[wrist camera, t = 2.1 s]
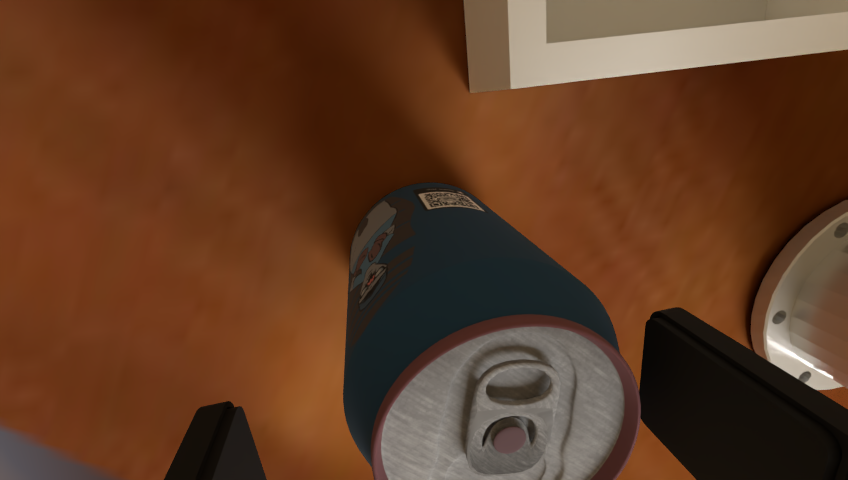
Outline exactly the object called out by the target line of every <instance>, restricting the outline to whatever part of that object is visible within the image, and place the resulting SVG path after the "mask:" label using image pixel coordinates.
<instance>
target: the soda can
mask: <svg viewBox="0 0 848 480" xmlns="http://www.w3.org/2000/svg"><path fill="white" fill-rule="evenodd" d="M343 403H344V412H345V416H346V421H347V424H348V427H349V430H350V433H351V435H352V437H353V439H354V441H355V443H356V445H357V447H358V448H359V450H360V451H361V453H362V454H363V456H364V457H365V459H366V460H367V461H368V463H369V464H370V465H371V467H372V471H373V476H374V479H375V480H616V478H617V477H618V476H619V474H620V473H621V472H622V470H623V468H624V467H625V465H626V463H627V461H628V459H629V457H630V455H631V453H632V450H633V448H634V445H635V442H636V438H637V434H638V430H639V425H640V416H641V404H640V395H639V390H638V386H637V383H636V380H635V378H634V375H633V373H632V371H631V369H630V367H629V366H628V364H627V363H626V361H625V360H624V358H623V357H622V356H621V354H620V352H619V347H618V342H617V338H616V334H615V331H614V328H613V325H612V322H611V320H610V318H609V316H608V314H607V312H606V310H605V308H604V307H603V305H602V304H601V302H600V301H599V299H598V298H597V297H596V296H595V295H594V293H593V292H592V291H591V290H590V289H589V288H588V287H587V286H586V285H584V284H583V283H582V282H581V281H579V280H578V279H577V278H576V277H574V276H573V275H572V274H571V273H569V272H568V271H567V270H566V269H564V268H563V267H562V266H561V265H559V264H558V263H557V262H556V261H554V260H553V259H552V258H551V257H549V256H548V255H547V254H546V253H544V252H543V251H542V250H541V249H539V248H538V247H537V246H536V245H534V244H533V243H532V242H531V241H529V240H528V239H527V238H526V237H524V236H523V235H522V234H521V233H520V232H518V231H517V230H516V229H515V228H513V227H512V226H511V225H510V224H508V223H507V222H506V221H505V220H503V219H502V218H501V217H500V216H498V215H497V214H496V213H495V212H493V211H492V210H491V209H490V208H488V207H487V206H486V205H485V204H483V203H482V202H481V201H480V200H478V199H477V198H476V197H475V196H473V195H472V194H470V193H468V192H467V191H465V190H462V189H460V188H458V187H455V186H452V185H448V184H442V183H419V184H413V185H409V186H406V187H403V188H400V189H398V190H396V191H393V192H392V193H390V194H388V195H386V196H385V197H383V198H382V199H381V200H379V201H378V202H377V203H376V204H375V205H374V206H373V207H372V208H371V209H370V210H369V211H368V212H367V213H366V215H365V216H364V217H363V219H362V220H361V222H360V224H359V226H358V227H357V230H356V232H355V234H354V237H353V241H352V245H351V250H350V266H349V286H348V307H347V327H346V348H345V368H344V389H343Z"/></svg>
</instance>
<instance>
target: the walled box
mask: <svg viewBox="0 0 848 480" xmlns="http://www.w3.org/2000/svg"><path fill="white" fill-rule="evenodd" d="M464 14H465V29H466V44H467V59H468V74H469V88H470V93H476V92H486V91H496V90H506V89H516V88H524V87H533V86H541V85H550V84H558V83H567V82H575V81H584V80H592V79H601V78H609V77H618V76H626V75H635V74H643V73H652V72H660V71H669V70H677V69H686V68H694V67H703V66H711V65H720V64H728V63H737V62H745V61H754V60H762V59H771V58H779V57H788V56H796V55H805V54H813V53H822V52H830V51H839V50H847V49H848V0H464Z"/></svg>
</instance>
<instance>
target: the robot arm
mask: <svg viewBox="0 0 848 480" xmlns="http://www.w3.org/2000/svg"><path fill="white" fill-rule="evenodd" d="M751 338H752V343H753V348H754V351H755V353H754V352H753V351H751V350H750V349H748V348H746V347H745V346H743V345H741V344H740V343H738V342H736V341H735V340H733V339H732V338H730V337H728V336H727V335H725V334H723V333H722V332H720V331H718V330H717V329H715V328H713V327H712V326H710V325H709V324H707V323H705V322H704V321H702V320H700V319H699V318H697V317H695V316H694V315H692V314H691V313H689V312H687V311H686V310H684V309H682V308H671V309H666V310H661V311H656V312H654V313H653V314H652V315H651V317H650V320H648V321H647V322H646V326H645V337H644V348H643V358H642V369H641V380H640V390H639V395H640V404H641V416H640V417H641V419H642V421H643V422H644V424H645V425H646V426H647V427H648V428H649V429H650V430H651V431H652V432H653V433H654V435H655V436H656V437H657V438H658V439H659V440H660V441H661V442H662V443H663V444H664V445H665V446H666V447H667V448H668V450H669V451H670V452H671V453H672V454H673V455H674V456H675V457H676V458H677V459H678V460H679V461H680V462H681V463H682V465H683V466H684V467H685V468H686V469H687V470H688V471H689V472H690V473H691V474H692V475H693V476H694V477H695V478H696V480H848V409H846V408H844V407H843V406H841V405H840V404H838V403H836V402H835V401H833V400H831V399H830V398H828V397H826V396H825V395H823V394H822V393H820V392H818V391H817V390H828V389H834V388H838V387H843V386H844V387H846V388H848V200H845V201H843V202H841V203H839V204H837V205H835V206H834V207H832V208H830V209H828V210H826V211H825V212H823V213H822V214H820V215H819V216H818V217H816V218H815V219H814V220H812V221H811V222H810V223H808V224H807V225H806V226H804V227H803V228H802V229H801V230H800V231H799V232H798V233H797V234H796V235H795V236H794V237H793V238H792V239H791V240H790V241H789V242H788V243H787V244H786V246H785V247H784V248H783V250H782V251H781V252H780V253H779V255H778V256H777V257H776V258H775V260H774V261H773V263H772V265H771V266H770V268H769V270H768V271H767V273H766V275H765V276H764V278H763V280H762V283H761V285H760V288H759V290H758V293H757V295H756V297H755V302H754V306H753V310H752V315H751ZM164 480H267V479H266V476H265V473H264V470H263V467H262V464H261V461H260V458H259V455H258V452H257V449H256V446H255V443H254V440H253V437H252V434H251V431H250V428H249V425H248V422H247V419H246V416H245V413H244V410H243V408H242V407H240V406H239V407H234V405H233V404H232V403H231V402H229V401H227V402H223V403H218V404H213V405H208V406H204V407H200V408H199V409H198V410H197V412H196V413H195V416H194V418H193V420H192V422H191V424H190V426H189V428H188V430H187V432H186V434H185V437H184V439H183V441H182V443H181V445H180V447H179V449H178V451H177V453H176V455H175V458H174V460H173V462H172V464H171V466H170V468H169V470H168V472H167V474H166V476H165V479H164Z"/></svg>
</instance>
